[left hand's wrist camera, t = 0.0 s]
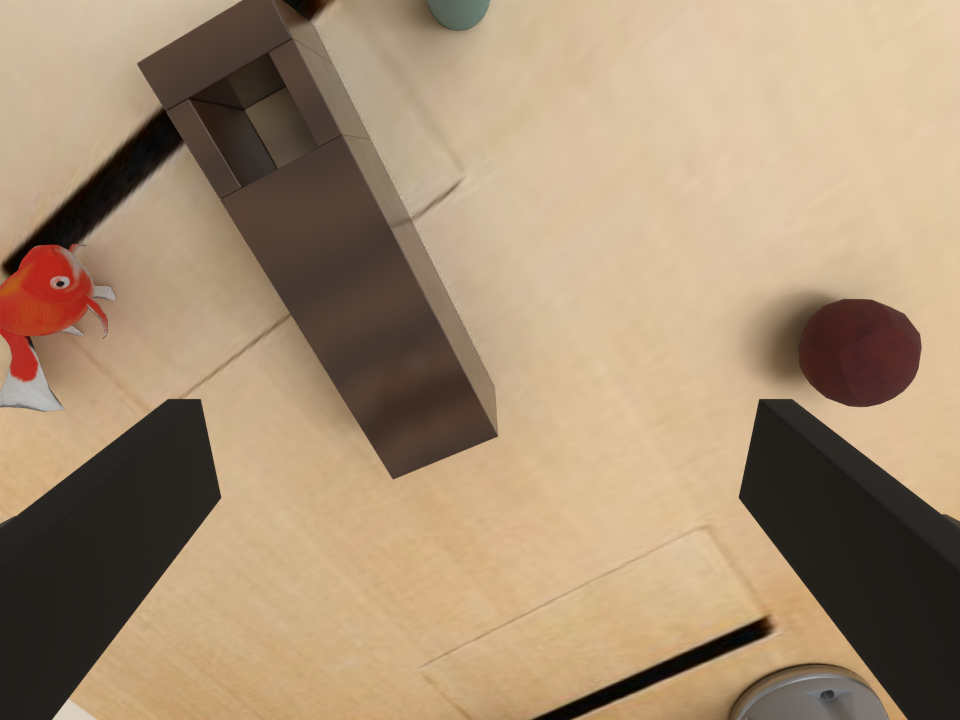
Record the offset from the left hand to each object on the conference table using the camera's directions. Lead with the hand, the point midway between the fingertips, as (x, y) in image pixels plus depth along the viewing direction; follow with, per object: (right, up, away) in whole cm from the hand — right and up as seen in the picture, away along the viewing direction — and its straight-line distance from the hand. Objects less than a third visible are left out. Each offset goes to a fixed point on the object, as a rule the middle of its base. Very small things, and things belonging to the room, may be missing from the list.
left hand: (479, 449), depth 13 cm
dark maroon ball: (+27, +4, +28) cm, 39 cm away
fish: (-31, +5, +28) cm, 42 cm away
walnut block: (-8, +10, +26) cm, 29 cm away
